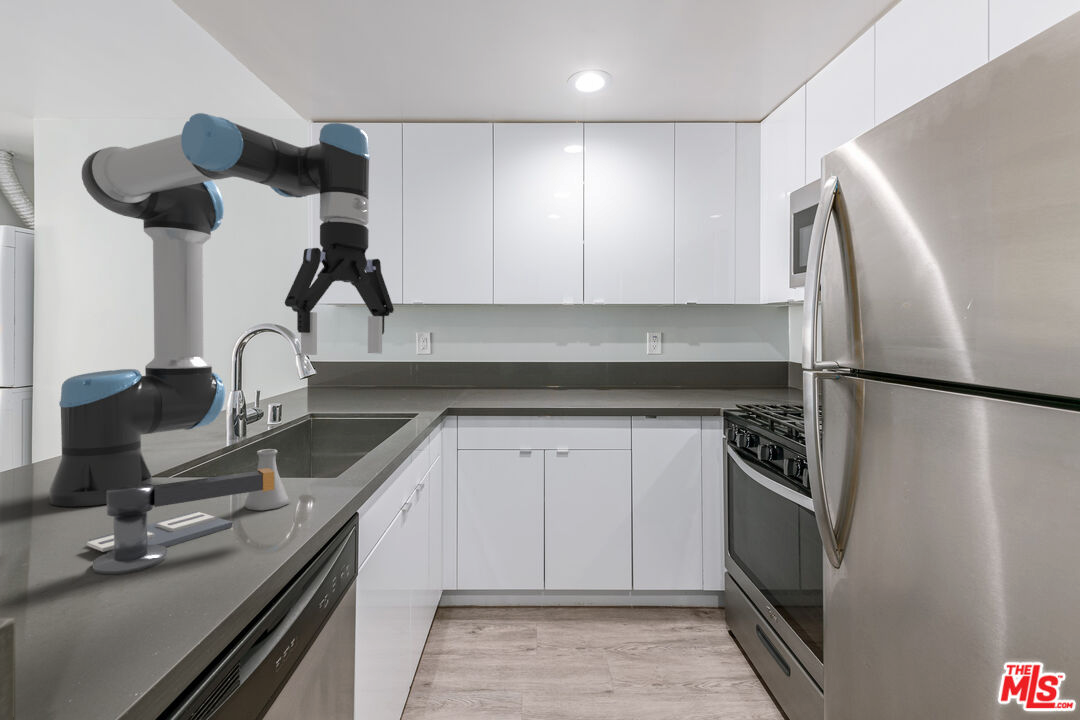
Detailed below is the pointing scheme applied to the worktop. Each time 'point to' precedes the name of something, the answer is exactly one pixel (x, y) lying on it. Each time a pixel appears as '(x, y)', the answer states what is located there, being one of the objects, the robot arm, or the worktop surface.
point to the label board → (171, 531)
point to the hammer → (183, 491)
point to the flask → (272, 497)
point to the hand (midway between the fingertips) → (344, 354)
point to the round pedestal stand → (130, 548)
